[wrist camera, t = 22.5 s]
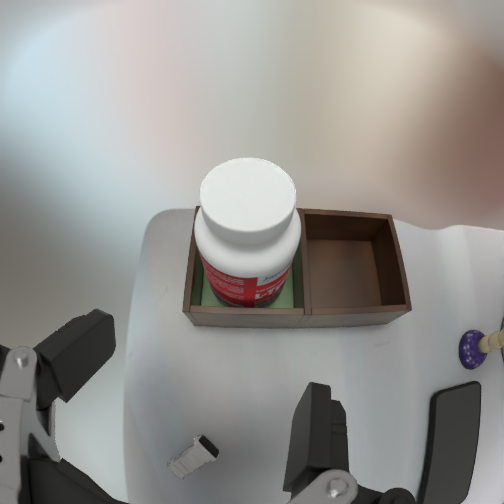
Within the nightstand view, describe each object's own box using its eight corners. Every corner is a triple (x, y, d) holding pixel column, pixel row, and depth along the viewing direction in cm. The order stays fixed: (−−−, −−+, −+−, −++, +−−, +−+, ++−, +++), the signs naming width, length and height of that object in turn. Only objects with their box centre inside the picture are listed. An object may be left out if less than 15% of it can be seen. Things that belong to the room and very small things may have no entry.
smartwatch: (188, 472, 15) (177, 488, 12) (169, 453, 16) (155, 465, 13) (222, 449, 17) (217, 462, 13) (203, 430, 17) (194, 439, 14)
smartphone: (482, 378, 17) (467, 500, 10) (476, 379, 18) (462, 499, 11) (433, 392, 17) (414, 526, 10) (428, 392, 18) (410, 523, 11)
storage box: (372, 239, 25) (391, 214, 21) (386, 324, 21) (412, 310, 17) (203, 234, 25) (195, 205, 21) (194, 325, 21) (182, 311, 17)
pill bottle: (259, 328, 21) (272, 273, 11) (195, 288, 22) (157, 207, 12) (297, 266, 23) (331, 177, 13) (236, 233, 24) (231, 134, 15)
